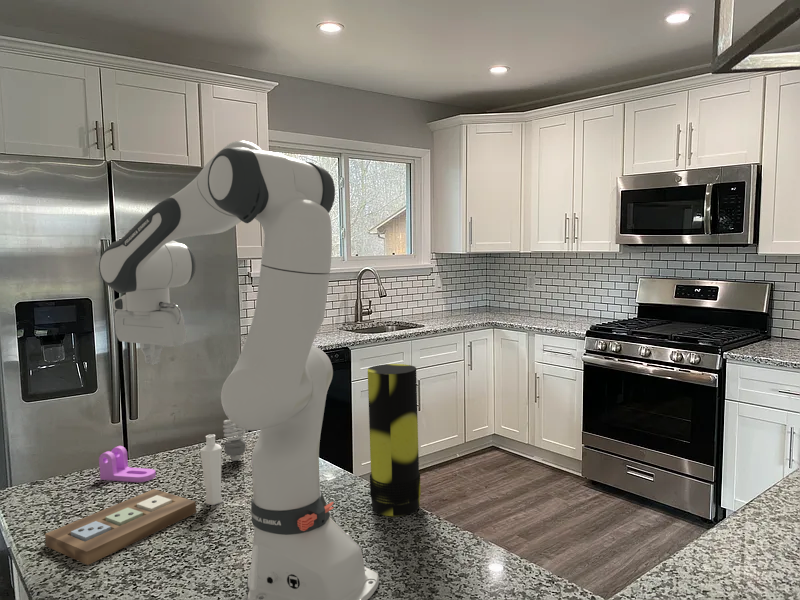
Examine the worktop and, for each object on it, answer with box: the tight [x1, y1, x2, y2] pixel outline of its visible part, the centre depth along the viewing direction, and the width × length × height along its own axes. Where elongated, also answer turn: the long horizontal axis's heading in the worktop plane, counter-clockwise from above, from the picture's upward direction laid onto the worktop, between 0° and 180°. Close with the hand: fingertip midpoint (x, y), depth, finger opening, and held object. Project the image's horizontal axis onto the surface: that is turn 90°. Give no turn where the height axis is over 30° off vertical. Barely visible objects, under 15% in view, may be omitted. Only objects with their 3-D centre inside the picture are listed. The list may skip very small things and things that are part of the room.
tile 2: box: [105, 508, 143, 526], centre depth 121 cm, size 5×5×3 cm
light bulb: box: [222, 419, 246, 462], centre depth 158 cm, size 6×6×12 cm
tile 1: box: [137, 495, 172, 512], centre depth 127 cm, size 5×5×3 cm
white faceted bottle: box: [199, 434, 224, 506], centre depth 133 cm, size 5×4×15 cm
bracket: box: [98, 445, 156, 483], centre depth 149 cm, size 13×6×7 cm, turn 77°
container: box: [367, 363, 422, 517], centre depth 127 cm, size 11×11×30 cm
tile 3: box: [71, 521, 111, 542], centre depth 115 cm, size 5×5×3 cm
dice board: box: [44, 488, 197, 566], centre depth 121 cm, size 14×24×2 cm, turn 148°
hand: (152, 363), depth 133 cm, fingers closed
